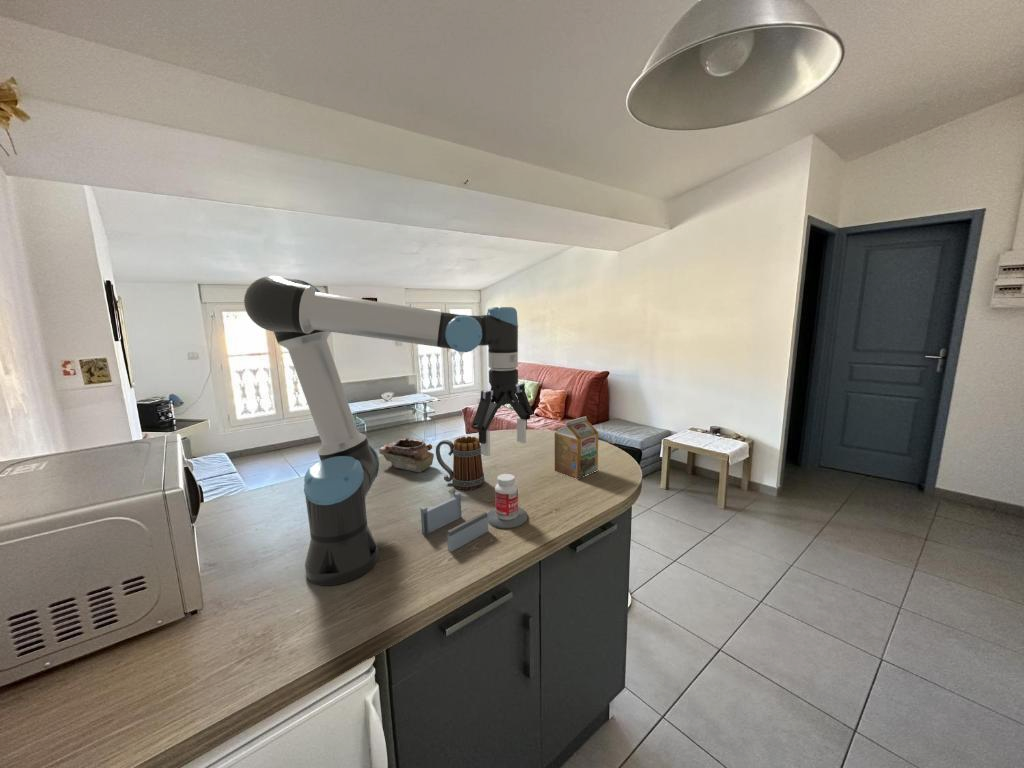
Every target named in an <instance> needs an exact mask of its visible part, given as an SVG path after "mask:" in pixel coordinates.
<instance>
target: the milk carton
mask: <svg viewBox="0 0 1024 768" xmlns="http://www.w3.org/2000/svg"><path fill="white" fill-rule="evenodd" d="M564 425H565V426H562V427H560V428H558V429H556V431H555V432H554V472H556V471H557V473H558V474H561V473H562V474H561V475H564V474H565V475H564V476H566V475H568V476H570V477H569V478H571V477H573V478H576V479H578V478H581V477H583V476H585V475H587V474H590V473H592V472H594V471H596V470H599V465H598V464H599V462H598V461H599V432H598V431H597V429H596V428H595V426H594V425H592V423H590V421H588V418H587V416H582V417H578V418H575V419H571V420H567V421H565V424H564ZM568 476H567V477H568ZM573 478H572V479H573ZM576 479H575V480H576ZM581 479H582V478H581Z"/></svg>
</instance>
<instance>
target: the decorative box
mask: <svg viewBox="0 0 1024 768" xmlns="http://www.w3.org/2000/svg"><path fill="white" fill-rule="evenodd" d="M432 449H433V445H432V444H431V443H425V440H423V439H419V438H411V437H410V438H408V437H407V438H406V437H405V438H399V439H398V440H395V441H391V442H389V443H386V444H384V445H383V446H382V447H379V450H378V452H379V454H380V455H382V456H383V457H384V459H385V461H387V462H389V463H391V465H393V467H394V468H397V469H402V470H406V471H411V472H415V473H419V474H420V473H422V472H423V471H426V470H427V469H428V468H429V467H431V466H432V465H433V462H434V458H435V457H434V456H435V454H434V453H432V451H431V450H432ZM430 451H431V452H430Z"/></svg>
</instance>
